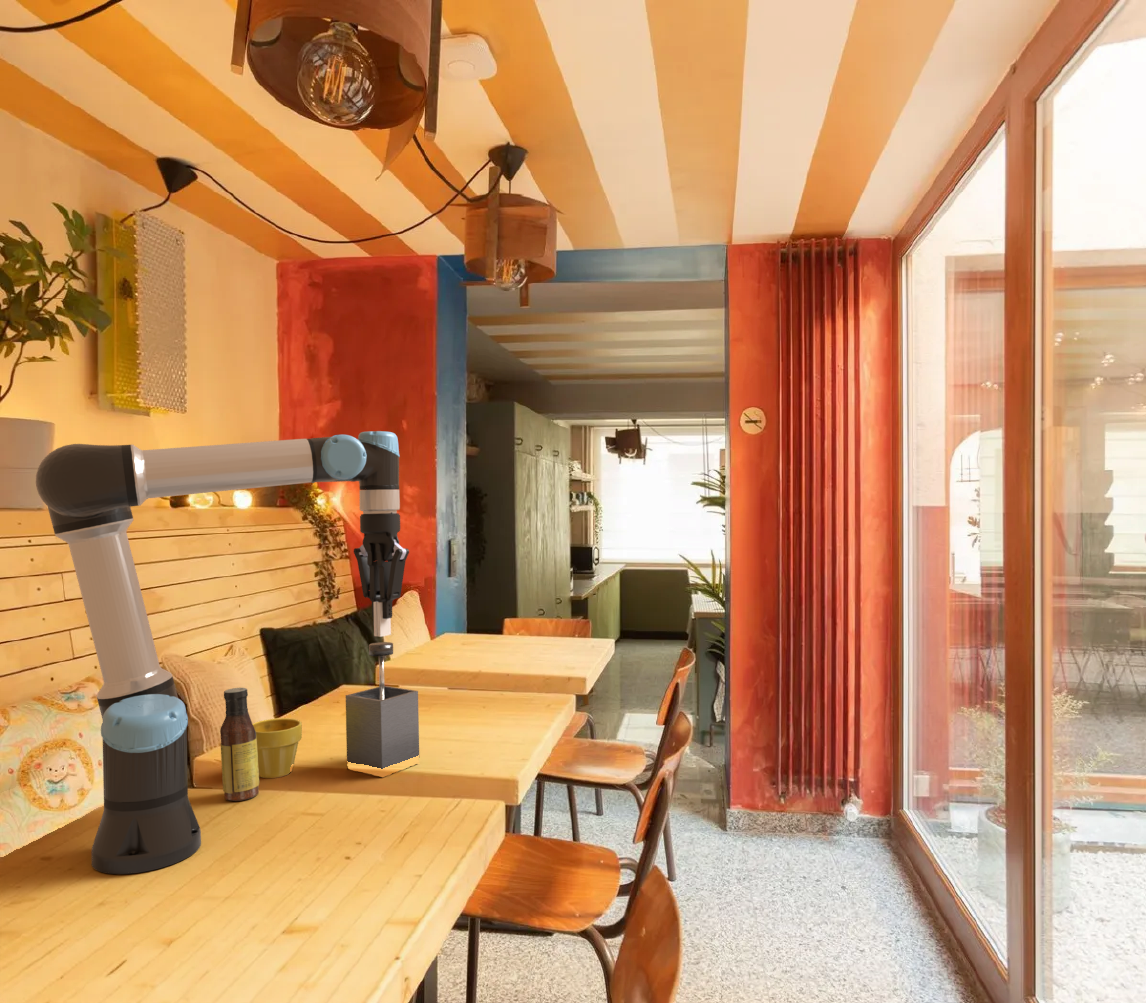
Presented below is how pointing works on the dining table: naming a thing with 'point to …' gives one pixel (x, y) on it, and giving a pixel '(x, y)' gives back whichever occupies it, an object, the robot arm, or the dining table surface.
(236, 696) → the sauce bottle
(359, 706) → the dark grey rectangular bin
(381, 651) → the plunger
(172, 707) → the robot arm
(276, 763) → the plant pot
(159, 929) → the dining table surface
